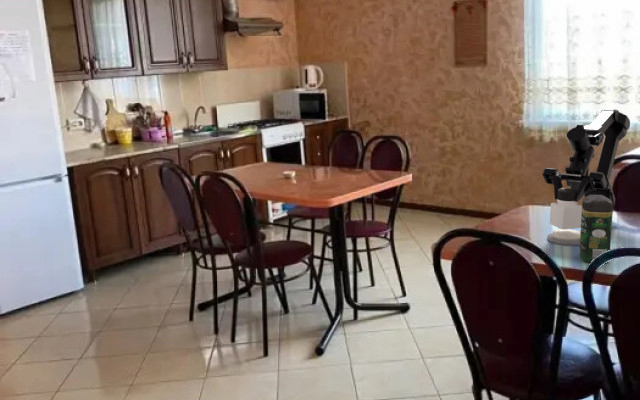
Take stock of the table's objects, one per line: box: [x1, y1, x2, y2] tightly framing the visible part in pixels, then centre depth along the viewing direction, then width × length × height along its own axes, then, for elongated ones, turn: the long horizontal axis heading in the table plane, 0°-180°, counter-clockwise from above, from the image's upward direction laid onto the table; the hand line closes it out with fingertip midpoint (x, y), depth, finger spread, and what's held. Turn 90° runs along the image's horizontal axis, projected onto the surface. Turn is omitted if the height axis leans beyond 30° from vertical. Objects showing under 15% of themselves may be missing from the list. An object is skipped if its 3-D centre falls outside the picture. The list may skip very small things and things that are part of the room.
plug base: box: [546, 228, 581, 247], centre depth 198 cm, size 12×12×2 cm
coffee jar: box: [579, 195, 614, 263], centre depth 177 cm, size 10×8×19 cm
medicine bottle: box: [549, 187, 582, 230], centre depth 197 cm, size 7×7×12 cm
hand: (565, 200), depth 195 cm, fingers closed on medicine bottle, 6 cm apart
